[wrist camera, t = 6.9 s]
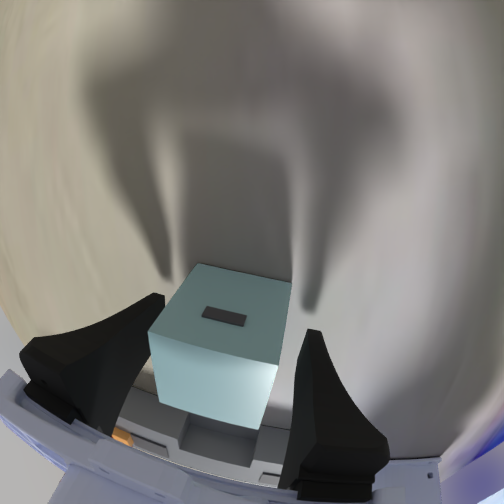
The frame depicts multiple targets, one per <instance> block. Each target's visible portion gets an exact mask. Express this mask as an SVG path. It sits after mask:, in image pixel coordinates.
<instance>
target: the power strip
mask: <svg viewBox="0 0 504 504" xmlns="http://www.w3.org/2000/svg"><path fill="white" fill-rule="evenodd" d="M289 435H290V430H285V429H279V428H274V427H269V426H263V425H260V426H259V429H258V430H257V429H252V428H248V427H243V426H239V425H235V424H231V423H227V422H223V421H219V420H215V419H211V418H208V417H204V416H201V415H197V414H194V413H191V412H188V411H184V410H181V409H178V408H175V407H172V406H169V405H166V404H164V403H161V402H159V397H158V396H156V395H153V394H150V393H148V392H145V391H143V390H140V389H137V388H135V387H131V389H130V391H129V393H128V395H127V397H126V400H125V402H124V404H123V407H122V409H121V411H120V414H119V417H118V419H117V422H116V425H115V428H114V431H113V434H112V437H113V438H114V439H115V440H117V441H120V442H122V443H124V444H126V445H128V446H131V447H132V446H133V447H135V448H138V449H140V450H143V451H145V452H148V453H150V454H153V455H155V456H158V457H161V458H163V459H166V460H169V461H172V462H175V463H178V464H181V465H184V466H187V467H190V468H193V469H196V470H200V471H203V472H207V473H211V474H214V475H218V476H222V477H226V478H230V479H235V480H239V481H244V482H249V483H254V484H259V485H265V486H271V487H278V483H279V479H280V476H281V472H282V467H283V463H284V459H285V454H286V450H287V445H288V440H289Z"/></svg>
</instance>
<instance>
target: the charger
mask: <svg viewBox="0 0 504 504" xmlns="http://www.w3.org/2000/svg"><path fill="white" fill-rule="evenodd" d="M291 287H292V283H289V282H284V281H279V280H274V279H269V278H265V277H260V276H255V275H250V274H246V273H241V272H236V271H232V270H227V269H223V268H218V267H213V266H209V265H204V264H200V263H197V265H196V266H195V267H194V269H193V270H192V271H191V273H190V274H189V275H188V277H187V278H186V279H185V281H184V282H183V283H182V285H181V286H180V287H179V289H178V290H177V291H176V293H175V294H174V296H173V297H172V298H171V300H170V301H169V302H168V304H167V305H166V307H165V308H164V309H163V311H162V312H161V313H160V315H159V316H158V318H157V319H156V320H155V322H154V323H153V325H152V326H151V327H150V329H149V330H148V337H149V344H150V351H151V358H152V364H153V370H154V376H155V381H156V387H157V392H158V397H159V402H161V403H164V404H166V405H169V406H172V407H175V408H178V409H181V410H184V411H188V412H191V413H194V414H197V415H201V416H204V417H208V418H211V419H215V420H219V421H223V422H227V423H231V424H235V425H239V426H243V427H248V428H252V429H257V430H258V429H259V426H260V423H261V420H262V417H263V414H264V411H265V408H266V405H267V402H268V399H269V395H270V392H271V389H272V386H273V382H274V379H275V376H276V372H277V369H278V366H279V360H280V354H281V349H282V343H283V337H284V331H285V325H286V319H287V313H288V307H289V300H290V294H291Z"/></svg>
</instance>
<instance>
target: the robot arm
mask: <svg viewBox="0 0 504 504" xmlns="http://www.w3.org/2000/svg"><path fill="white" fill-rule="evenodd" d="M164 308H165V295H161V294H157V293H152V294H150V295H148V296H146V297H145V298H143V299H141V300H140V301H138V302H136V303H135V304H133V305H131V306H129V307H128V308H126V309H124V310H122V311H120V312H118V313H116V314H114V315H113V316H111V317H109V318H107V319H104V320H102V321H100V322H98V323H95V324H93V325H90V326H87V327H84V328H81V329H78V330H74V331H71V332H67V333H62V334H57V335H51V336H43V337H34V338H33V339H32V340H31V341H30V342H29V343H28V344H27V345H26V346H25V347H24V348H23V349H22V351H20V353H19V356H20V360H21V362H22V364H23V366H24V368H25V370H26V372H27V373H28V375H29V377H30V379H31V381H30V382H29V383H28V384H27V383H26V382H25V380H24V379H23V378H21V377H20V376H19V375H17V374H16V373H15V372H13V371H12V370H11V369H8V370H7V372H6V373H5V374H4V375H3V376H2V377H1V378H0V420H1V421H2V422H3V423H4V424H5V425H6V426H7V427H8V428H9V429H10V430H11V431H12V432H14V433H15V434H16V435H17V436H18V437H20V438H21V439H22V440H23V441H24V442H26V443H27V444H28V445H29V446H30V447H32V448H33V449H34V450H36V451H37V452H38V453H39V454H41V455H42V456H43V457H45V458H46V459H47V460H49V461H50V462H51V463H53V464H54V465H56V466H57V467H58V468H60V469H61V470H63V471H64V472H66V473H65V474H64V476H63V478H62V479H61V481H60V483H59V485H58V487H57V488H56V490H55V492H54V494H53V495H52V497H51V499H50V500H49V502H48V504H442V499H441V488H440V479H439V471H438V463H440V462H441V461H442V459H441V457H436V458H425V459H410V460H390V452H389V446H388V442H387V438H386V437H385V436H384V435H383V434H382V433H380V432H379V431H378V430H377V429H376V428H375V427H374V426H373V425H372V424H371V423H370V422H369V421H368V420H367V418H366V417H365V416H364V415H363V414H362V412H361V411H360V410H359V409H358V407H357V406H356V405H355V403H354V402H353V400H352V399H351V397H350V396H349V394H348V393H347V391H346V389H345V388H344V386H343V384H342V382H341V380H340V378H339V376H338V374H337V372H336V370H335V368H334V366H333V363H332V361H331V359H330V356H329V353H328V351H327V348H326V345H325V342H324V339H323V335H322V333H321V331H318V330H313V329H307V332H306V335H305V338H304V341H303V344H302V347H301V350H300V353H299V356H298V360H297V366H296V372H295V380H294V398H293V416H292V424H291V429H290V435H289V440H288V445H287V450H286V454H285V459H284V463H283V467H282V472H281V476H280V479H279V483H278V487H277V488H271V487H265V486H259V485H254V484H249V483H244V482H239V481H235V480H230V479H226V478H222V477H218V476H214V475H210V474H207V473H203V472H200V471H196V470H193V469H190V468H187V467H183V466H180V465H177V464H174V463H172V462H169V461H166V460H163V459H160V458H158V457H155V456H153V455H150V454H147V453H145V452H142V451H140V450H138V449H135V448H133V447H131V446H128V445H126V444H124V443H122V442H120V441H117V440H115V439H113V438H111V437H112V434H113V431H114V428H115V425H116V422H117V419H118V417H119V414H120V411H121V409H122V407H123V404H124V402H125V400H126V397H127V395H128V393H129V391H130V389H131V387H132V385H133V383H134V381H135V379H136V377H137V375H138V374H139V372H140V371H141V369H142V368H143V366H144V365H145V363H146V362H147V360H148V359H149V357H150V355H151V351H150V344H149V337H148V330H149V329H150V327H151V326H152V325H153V323H154V322H155V320H156V319H157V318H158V316H159V315H160V313H161V312H162V311H163V309H164Z"/></svg>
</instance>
